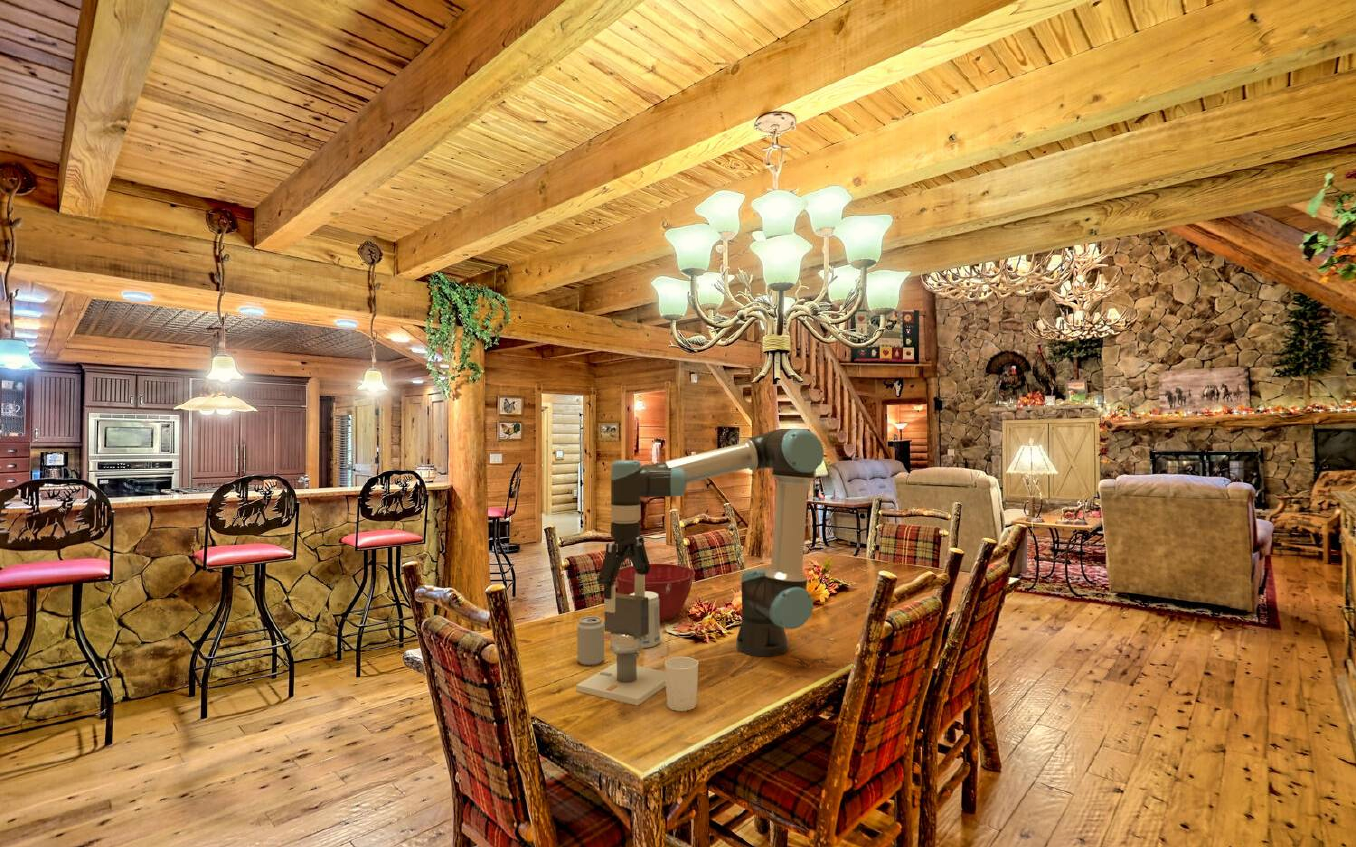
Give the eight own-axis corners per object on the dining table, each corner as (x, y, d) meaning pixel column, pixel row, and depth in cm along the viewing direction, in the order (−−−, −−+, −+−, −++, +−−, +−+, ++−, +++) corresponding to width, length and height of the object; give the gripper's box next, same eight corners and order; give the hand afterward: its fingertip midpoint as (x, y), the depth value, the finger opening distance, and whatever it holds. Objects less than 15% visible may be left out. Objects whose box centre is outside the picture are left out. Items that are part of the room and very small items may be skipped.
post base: (675, 679, 163) (674, 644, 163) (637, 705, 148) (637, 667, 148) (617, 667, 172) (617, 634, 172) (576, 691, 156) (576, 654, 156)
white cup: (674, 715, 142) (674, 671, 142) (659, 702, 149) (658, 660, 149) (704, 708, 146) (704, 664, 146) (688, 696, 153) (688, 654, 153)
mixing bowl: (685, 631, 203) (685, 583, 203) (601, 625, 210) (601, 579, 210) (702, 607, 230) (702, 565, 231) (627, 603, 237) (627, 562, 237)
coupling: (653, 646, 161) (653, 595, 161) (636, 656, 154) (636, 602, 154) (614, 639, 167) (614, 590, 167) (596, 648, 160) (596, 597, 160)
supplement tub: (647, 636, 198) (647, 589, 198) (666, 644, 191) (666, 595, 191) (621, 643, 192) (621, 594, 192) (640, 651, 185) (640, 600, 185)
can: (608, 658, 179) (608, 616, 179) (596, 668, 172) (596, 623, 172) (585, 655, 181) (584, 613, 181) (572, 665, 174) (572, 621, 174)
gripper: (639, 515, 173) (639, 592, 173) (583, 526, 151) (583, 615, 151) (663, 516, 170) (662, 596, 169) (609, 528, 148) (608, 619, 147)
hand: (625, 605), depth 160 cm, fingers open, 13 cm apart
